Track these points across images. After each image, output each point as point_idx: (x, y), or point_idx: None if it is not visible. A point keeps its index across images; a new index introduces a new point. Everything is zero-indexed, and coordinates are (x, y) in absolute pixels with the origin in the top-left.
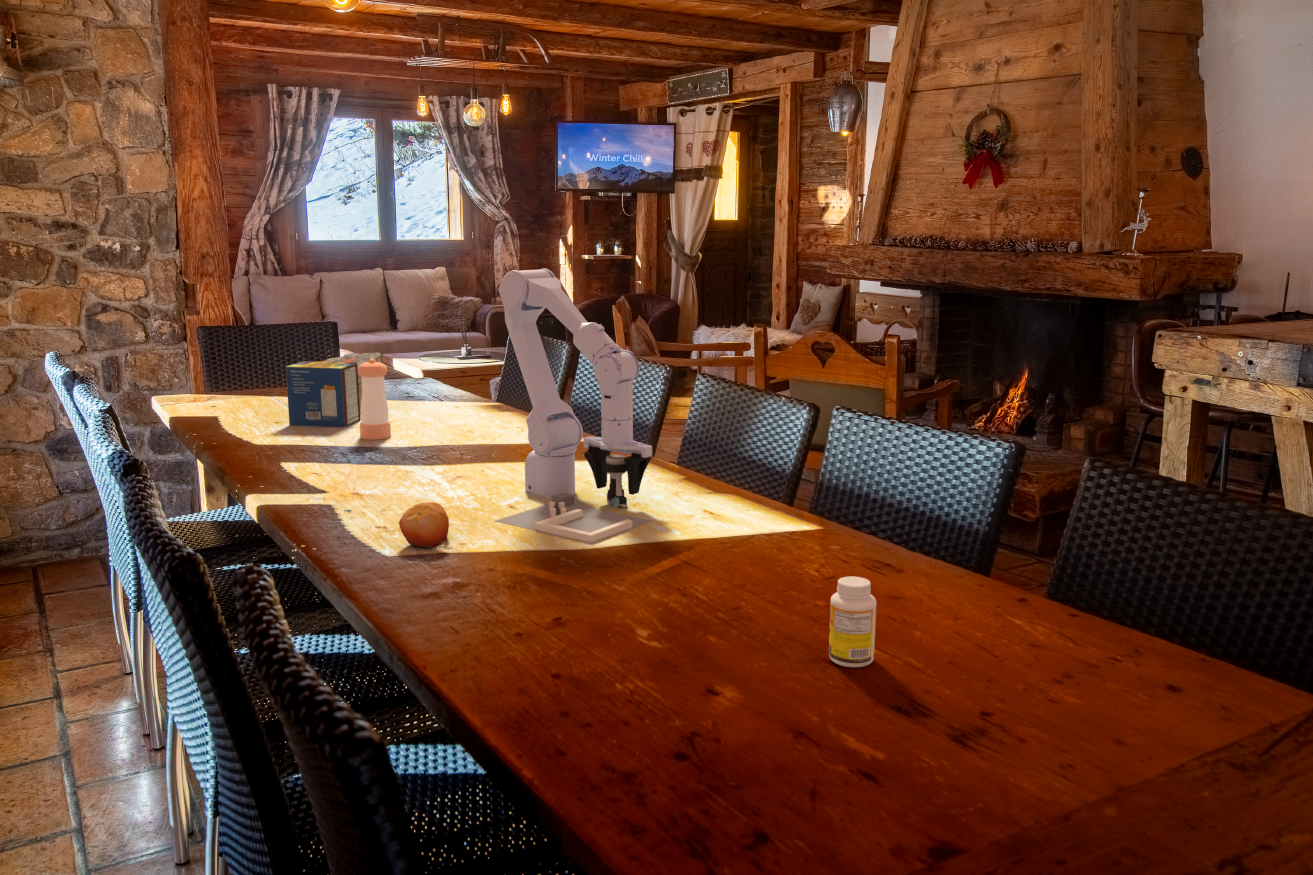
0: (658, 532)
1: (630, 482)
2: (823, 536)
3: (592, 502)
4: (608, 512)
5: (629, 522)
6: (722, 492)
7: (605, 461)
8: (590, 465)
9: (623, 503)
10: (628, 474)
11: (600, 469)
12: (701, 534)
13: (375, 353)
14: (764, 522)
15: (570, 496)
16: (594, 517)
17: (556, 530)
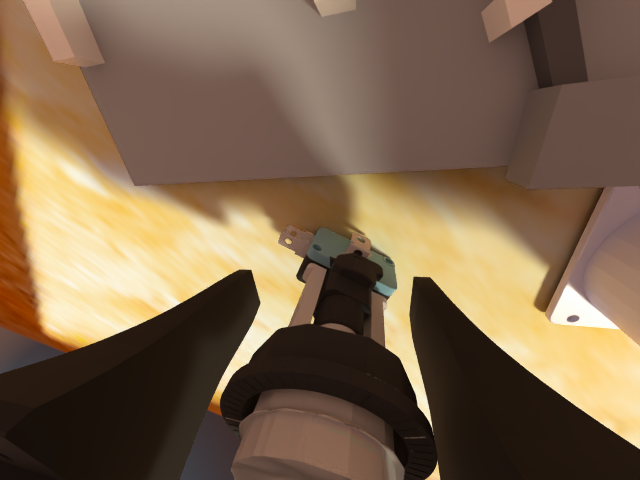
0: (89, 141)
1: (200, 295)
2: (4, 304)
3: (472, 274)
4: (289, 164)
5: (47, 38)
6: None
7: (407, 444)
8: (530, 378)
9: (304, 257)
10: (174, 323)
11: (440, 373)
12: (48, 201)
13: None
14: (94, 323)
15: (538, 154)
16: (270, 54)
17: None
